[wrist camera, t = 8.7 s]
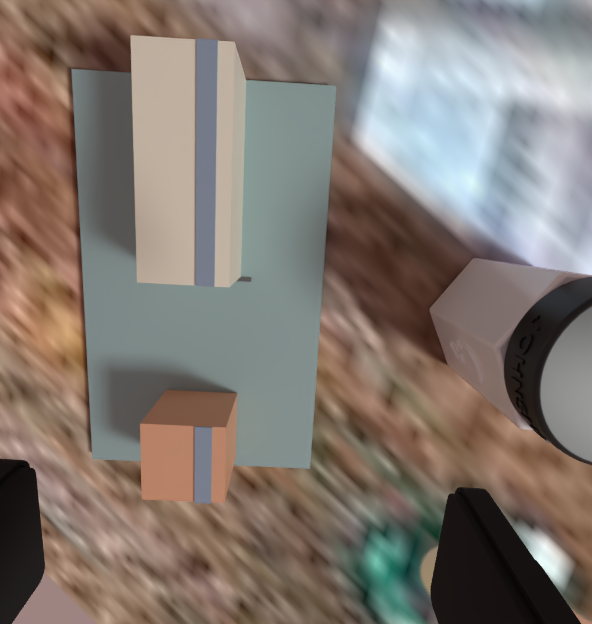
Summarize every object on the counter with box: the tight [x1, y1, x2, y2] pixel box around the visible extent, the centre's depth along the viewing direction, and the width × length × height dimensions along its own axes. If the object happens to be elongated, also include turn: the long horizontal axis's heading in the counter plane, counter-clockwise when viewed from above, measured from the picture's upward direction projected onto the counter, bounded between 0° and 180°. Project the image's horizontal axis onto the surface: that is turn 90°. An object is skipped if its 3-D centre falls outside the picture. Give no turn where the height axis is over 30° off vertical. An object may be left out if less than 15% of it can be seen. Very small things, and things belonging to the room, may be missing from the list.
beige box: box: [131, 35, 246, 287], centre depth 23 cm, size 12×5×5 cm, turn 177°
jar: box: [429, 258, 592, 465], centre depth 22 cm, size 9×8×12 cm
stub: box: [140, 390, 237, 504], centre depth 26 cm, size 5×5×5 cm
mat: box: [72, 69, 336, 468], centre depth 27 cm, size 26×16×1 cm, turn 177°
